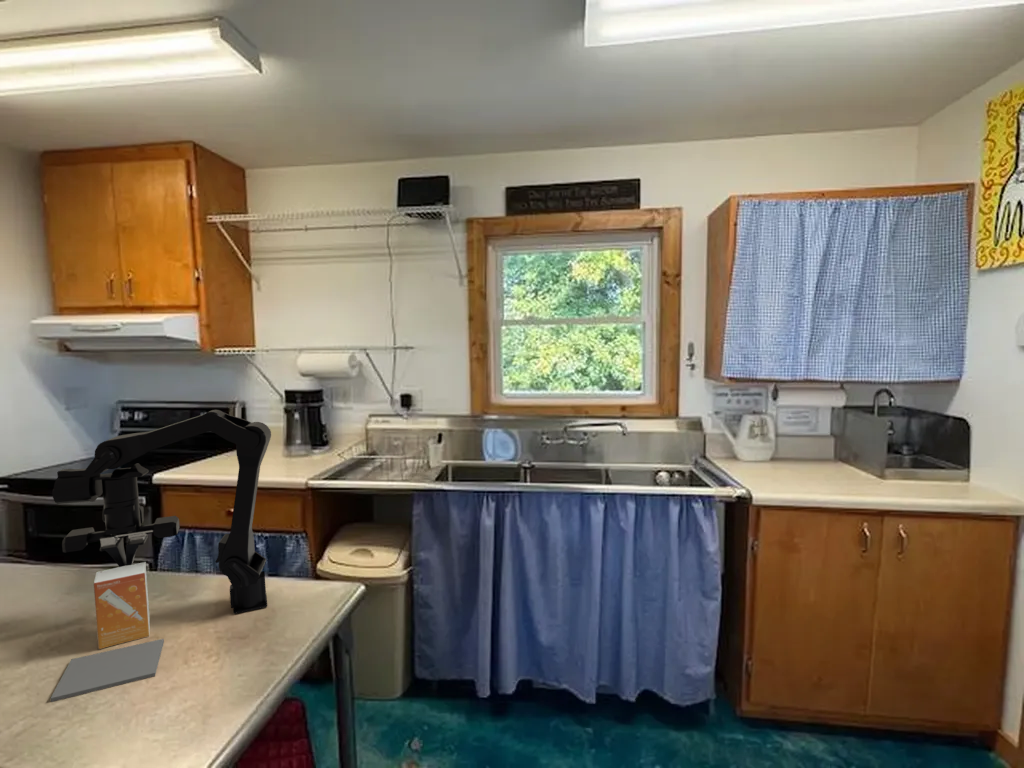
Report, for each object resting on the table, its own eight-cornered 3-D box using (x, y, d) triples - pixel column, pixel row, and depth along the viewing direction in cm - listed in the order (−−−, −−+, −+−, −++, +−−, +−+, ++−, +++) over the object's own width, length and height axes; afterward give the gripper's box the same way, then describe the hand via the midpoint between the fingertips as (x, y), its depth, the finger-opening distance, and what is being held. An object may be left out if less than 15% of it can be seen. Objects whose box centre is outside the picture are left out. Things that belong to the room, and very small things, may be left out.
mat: (163, 641, 103) (163, 638, 103) (154, 676, 93) (154, 672, 92) (71, 662, 97) (71, 659, 97) (50, 701, 86) (50, 698, 86)
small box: (98, 650, 101) (92, 583, 100) (101, 635, 106) (95, 571, 105) (150, 636, 105) (145, 571, 104) (150, 622, 110) (145, 560, 109)
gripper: (179, 483, 120) (184, 551, 122) (74, 495, 112) (81, 568, 113) (173, 496, 110) (179, 570, 112) (57, 510, 102) (65, 590, 103)
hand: (127, 574), depth 110 cm, fingers closed
